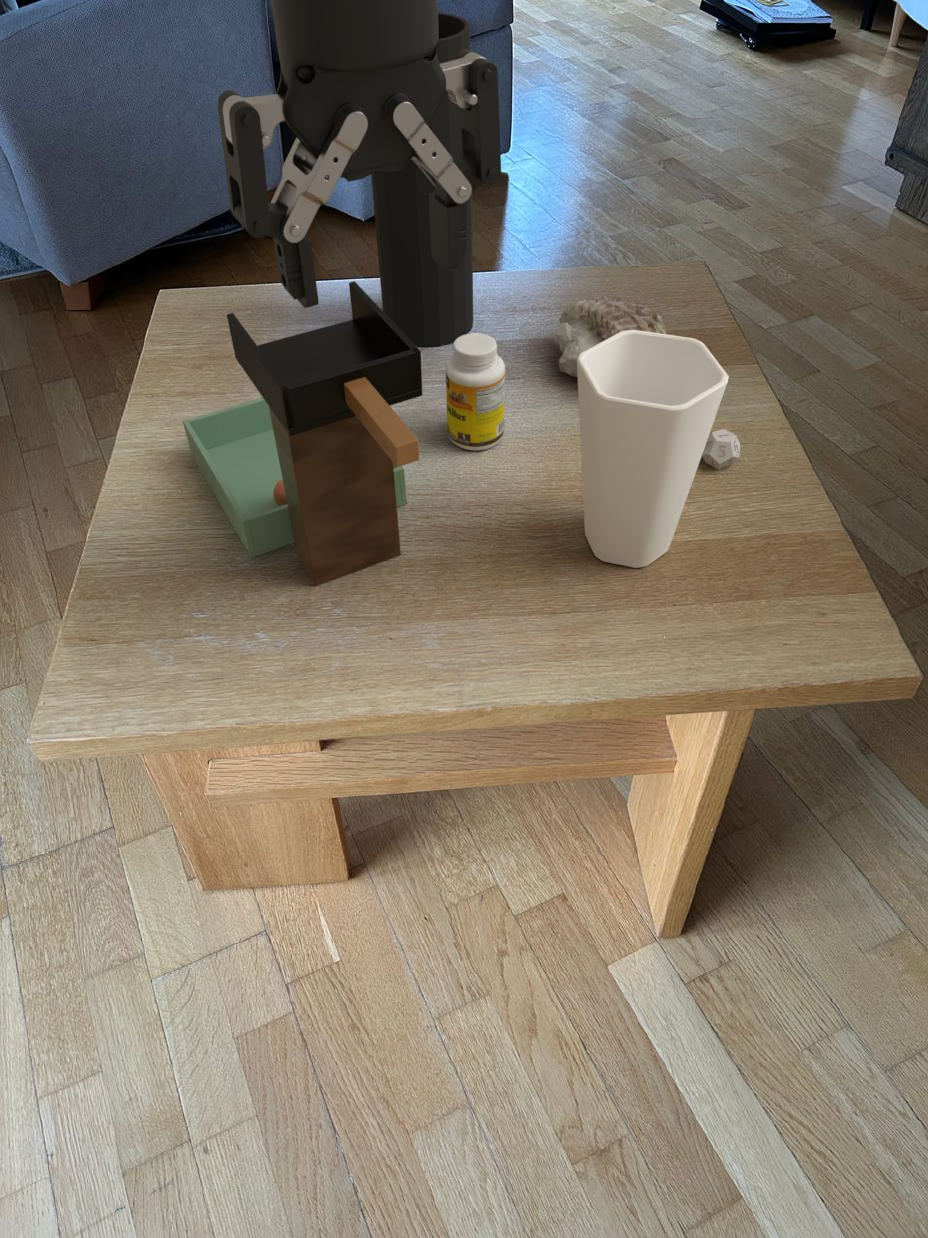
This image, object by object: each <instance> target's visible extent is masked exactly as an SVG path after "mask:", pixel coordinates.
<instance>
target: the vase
mask: <svg viewBox="0 0 928 1238" xmlns="http://www.w3.org/2000/svg"><path fill="white" fill-rule="evenodd" d="M438 32H439V36H438V41H437V46H436V54H437V59H438V62H439V64H441V63H445V62H449V61H453V60H454V59H455V56H456V55H457V53H458V52H459V51H461V50H463V49H467V50H470V51H471V23H469V22H468V20H466V19H465V18H464V17H461V16H458V15H455V14H451V13H446V12H440V11H438ZM429 128H430V130H431V131H432V132H433V133H434V135H435V136H436V137H437V139H438V140H439V141H440V143H441V144H442V145H443V146H444V148H445V149H446V150H447V152H448V153H449V154H450V155H451V157H452V158H453V162H455V161H456V160H458V159H459V158H460V152H459V138H458V123H457V108H456V104H454V103H453V102H451V100H450V99H449V96H448V92H447V90H446V92H445V95H444V98H443V100H442V102H441V104H440V106H439V108H438V110H437V112H436V114H435V116H434V118H433V120H432V122H431V124H430V126H429ZM404 167H405V170H400V171H395V172H380V171H377V172H374V173H372V174H371V175H370V176H371V187H372V188H371V189H372V198H373V209H374V210H373V211H374V221H375V235H376V246H377V247H376V248H377V257H378V258H377V259H378V269H379V270H378V271H379V282H380V283H379V284H380V292H381V306H382V311H383V312H384V313H385V314H386V315H387V316H388V317H389V318H390V319H391V320H392V321H393V322H394V323H395V324H396V325H397V327H398V328H399V329H400V330H401V331H402V332H403V333H404V334H405V335H406V336H407V337H408V338H409V339H410V340H411V341H412V342H413V343H414V344H415V346H416V347H425V348H427V347H439V346H440V347H441V346H444V345H449V344H450V343H452V344H453V343H454V342H455V340H456V339H457V338H458V337H460V336H462V335H465V334H469V332H470V331H471V330H472V329H473V326H474V266H473V265H474V260H473V259H474V258H473V253H474V252H473V251H474V249H473V192H472V193H471V196H470V198H469V199H468V200H467V249H466V253H465V256H464V257H461V258H460V266H459V268H458V269H456V270H452V271H448V272H446V271H444V270H443V269H442V268H441V267H440V266H439V265H438V264H436V263H435V262H434V260H433V258H432V254H431V237H430V210H429V194H431V193H435V186H434V185H433V184H432V183H431V181H430V180H429V179H428V178H427V177H426V175H425V174H424V173H423V172H422V170H421V169H420V168H419V167H418V166H417V164H416V163H415V162H414V161H413V160H412V159H411V160H410V161H409V162H407V163H406V164H405V165H404Z"/></svg>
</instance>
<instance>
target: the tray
mask: <svg viewBox="0 0 928 1238" xmlns="http://www.w3.org/2000/svg"><path fill="white" fill-rule="evenodd" d="M182 425H183V428H184V432H185V436H186V439H187V444H188V447H189V450H190V453H191V456H192V458H193V460H194V462H195V464H196V465H197V468H198V469H199V471H200V472H201V474H202V475H203V477H204V479H205V481H206V483H207V484H208V486H209V487H210V490H211V491H212V493H213V495H214V497H215V498H216V500H217V502H218V504H219V505H220V507H221V508H222V511H223V512H224V514H225V516H226V517H227V519H228V521H229V523H230V524H231V527H232V528H233V529H234V531H235V533H236V534H237V536H238V539H239V540H240V541H241V544H242V545H243V547H244V548H245V550H246V552H247V554H248V555H249V557H250V558H255V557H257V556H260V555H263V554H267V553H269V552H272V551H275V550H277V549H281V548H284V547H287V546H289V545H292V544H295V542H294V536H293V531H292V526H291V521H290V515H289V510H288V505H287V504H286V505H283V506H280V507H278V505H277V504H276V503H275V501H274V498H273V490H274V487H275V485H276V484H277V483H278V482H279V481H280V480H282V473H281V468H280V463H279V458H278V452H277V447H276V442H275V437H274V431H273V426H272V421H271V416H270V410H269V405H268V404H267V403H266V401H265V400H264V398H263V397H259V398H257V399H252V400H250V401H246V402H242V403H240V404H236V405H233V406H229V407H226V408H222V409H219V410H215V411H212V412H209V413H205V414H202V415H198V416H194V417H191V418H188V419H184V420H183V421H182ZM393 468H394V480H395V492H396V503H397V508H398V507H401V506H404V505H407V504H408V501H407V486H406V475H405V474H406V473H405V468H404V465H403V466H400V467H396V465H395V464H394V463H393Z"/></svg>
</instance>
